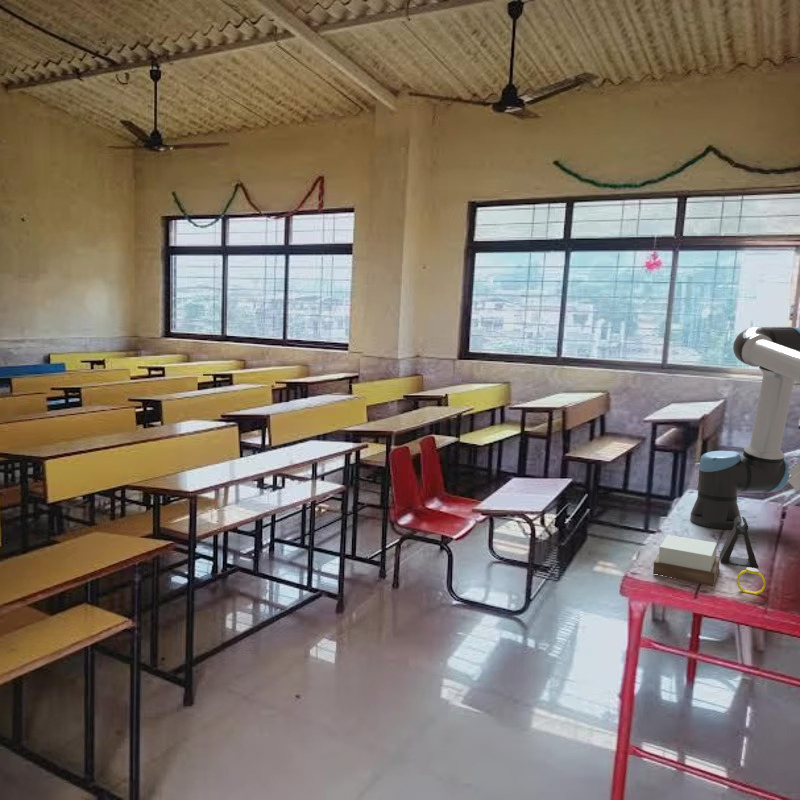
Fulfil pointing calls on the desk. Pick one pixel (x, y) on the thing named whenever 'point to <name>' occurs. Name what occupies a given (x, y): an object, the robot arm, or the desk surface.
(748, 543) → the phone stand
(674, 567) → the lower block
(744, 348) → the robot arm
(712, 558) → the upper block
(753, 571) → the watch
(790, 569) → the desk surface
